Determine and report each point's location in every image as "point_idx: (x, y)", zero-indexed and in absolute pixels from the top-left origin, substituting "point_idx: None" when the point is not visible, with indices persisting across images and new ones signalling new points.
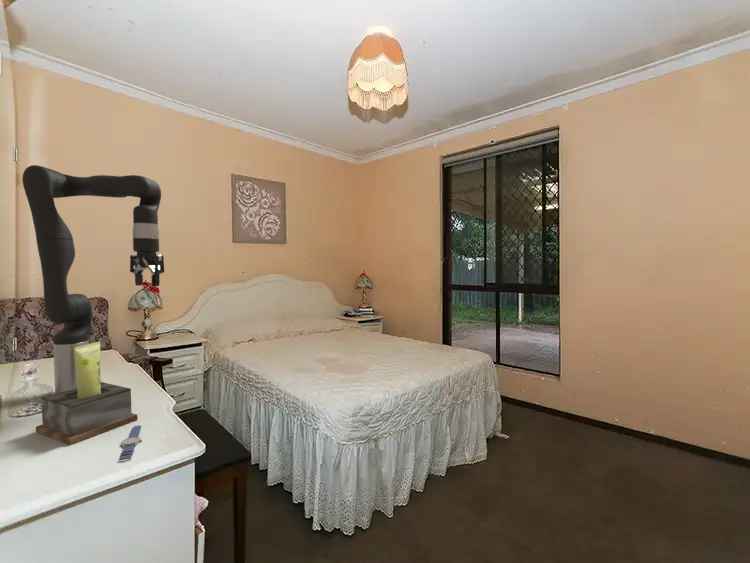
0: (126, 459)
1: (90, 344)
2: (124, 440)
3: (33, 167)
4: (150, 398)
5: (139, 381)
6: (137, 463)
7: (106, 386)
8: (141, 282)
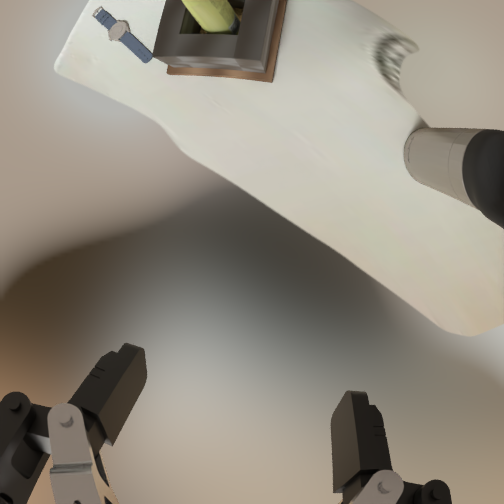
0: (95, 12)
1: None
2: (125, 26)
3: None
4: (238, 159)
5: (356, 246)
6: (82, 17)
7: (212, 43)
8: (336, 430)
